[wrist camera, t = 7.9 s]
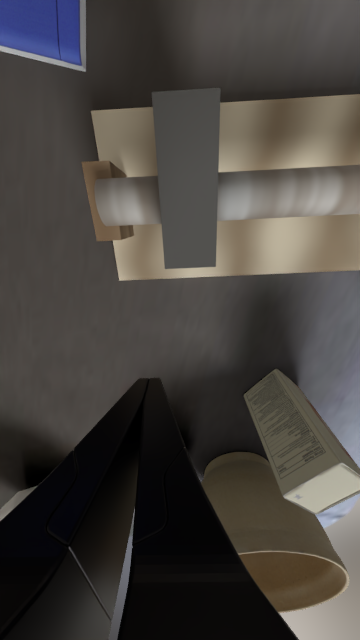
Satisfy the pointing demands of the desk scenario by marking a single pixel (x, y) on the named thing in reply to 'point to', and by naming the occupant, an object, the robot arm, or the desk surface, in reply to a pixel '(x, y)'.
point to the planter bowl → (273, 534)
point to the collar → (188, 174)
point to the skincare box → (301, 446)
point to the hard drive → (45, 31)
